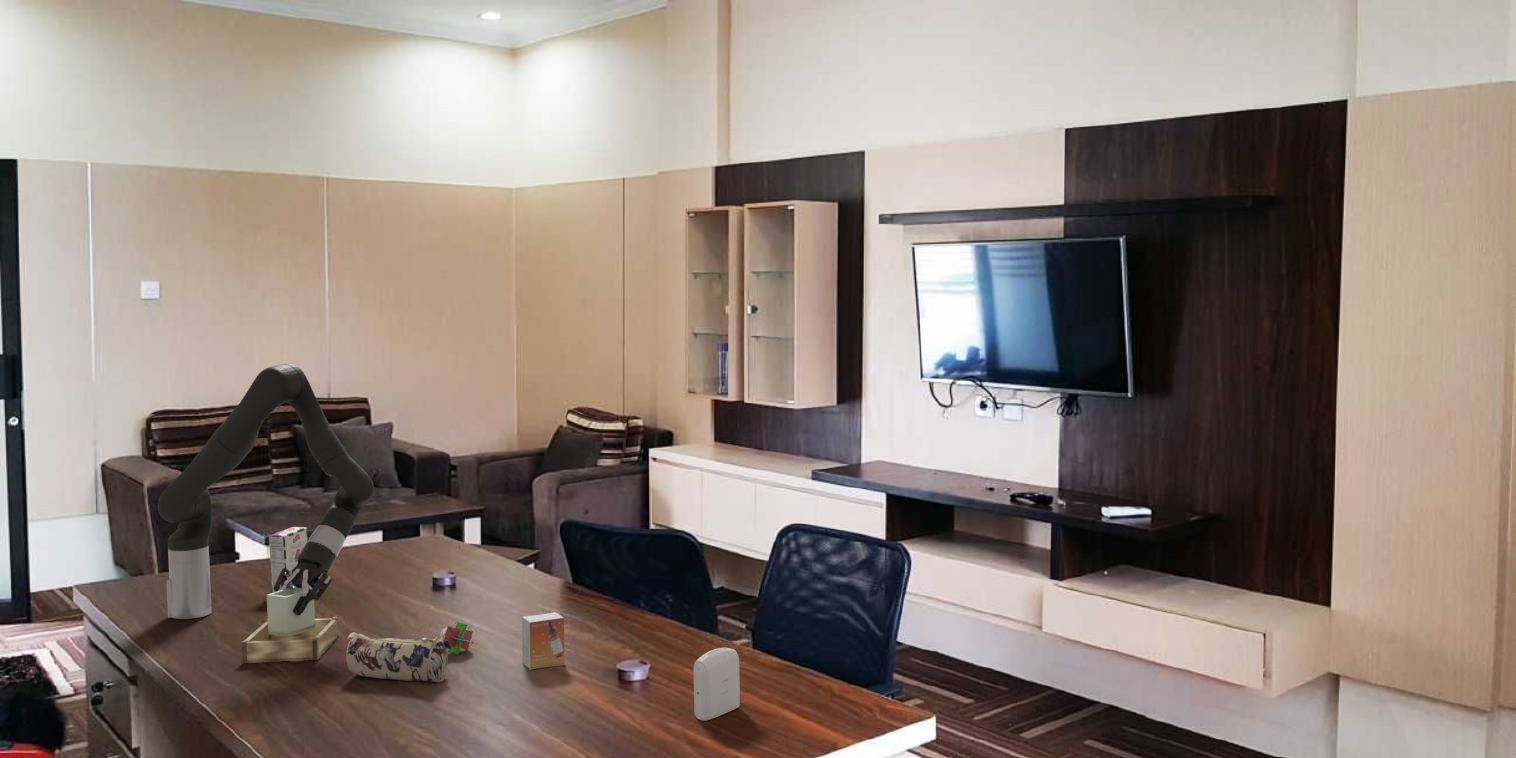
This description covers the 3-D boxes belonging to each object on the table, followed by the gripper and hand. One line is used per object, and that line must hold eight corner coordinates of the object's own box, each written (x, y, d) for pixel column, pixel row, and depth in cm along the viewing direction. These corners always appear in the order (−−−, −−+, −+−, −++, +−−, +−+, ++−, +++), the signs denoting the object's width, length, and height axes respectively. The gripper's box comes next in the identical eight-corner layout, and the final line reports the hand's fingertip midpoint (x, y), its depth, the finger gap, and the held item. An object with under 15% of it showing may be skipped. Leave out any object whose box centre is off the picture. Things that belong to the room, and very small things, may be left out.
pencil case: (454, 675, 263) (452, 630, 262) (433, 688, 254) (432, 642, 254) (362, 668, 268) (360, 624, 267) (339, 680, 260) (337, 635, 259)
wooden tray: (242, 663, 272) (241, 641, 272) (268, 639, 290) (267, 619, 290) (317, 660, 273) (316, 639, 273) (338, 637, 291) (337, 616, 291)
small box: (529, 670, 265) (528, 622, 264) (522, 663, 270) (520, 616, 269) (565, 665, 269) (564, 617, 268) (557, 658, 274) (556, 611, 273)
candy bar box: (294, 585, 341) (291, 526, 340) (310, 586, 340) (308, 526, 339) (270, 595, 330) (267, 534, 329) (287, 596, 329) (284, 535, 328)
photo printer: (707, 722, 233) (706, 658, 232) (690, 717, 236) (689, 654, 235) (743, 708, 241) (742, 645, 240) (726, 703, 244) (726, 641, 243)
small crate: (268, 634, 279) (266, 594, 278) (295, 624, 286) (293, 586, 285) (288, 637, 276) (286, 597, 276) (315, 627, 284) (313, 588, 283)
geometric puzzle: (470, 634, 285) (450, 611, 281) (486, 640, 280) (467, 617, 276) (448, 658, 281) (428, 635, 277) (465, 665, 276) (444, 641, 272)
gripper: (289, 538, 290) (251, 600, 280) (336, 542, 283) (299, 606, 274) (308, 555, 295) (271, 617, 285) (354, 560, 289) (318, 624, 279)
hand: (285, 612), depth 279 cm, fingers closed on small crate, 6 cm apart
